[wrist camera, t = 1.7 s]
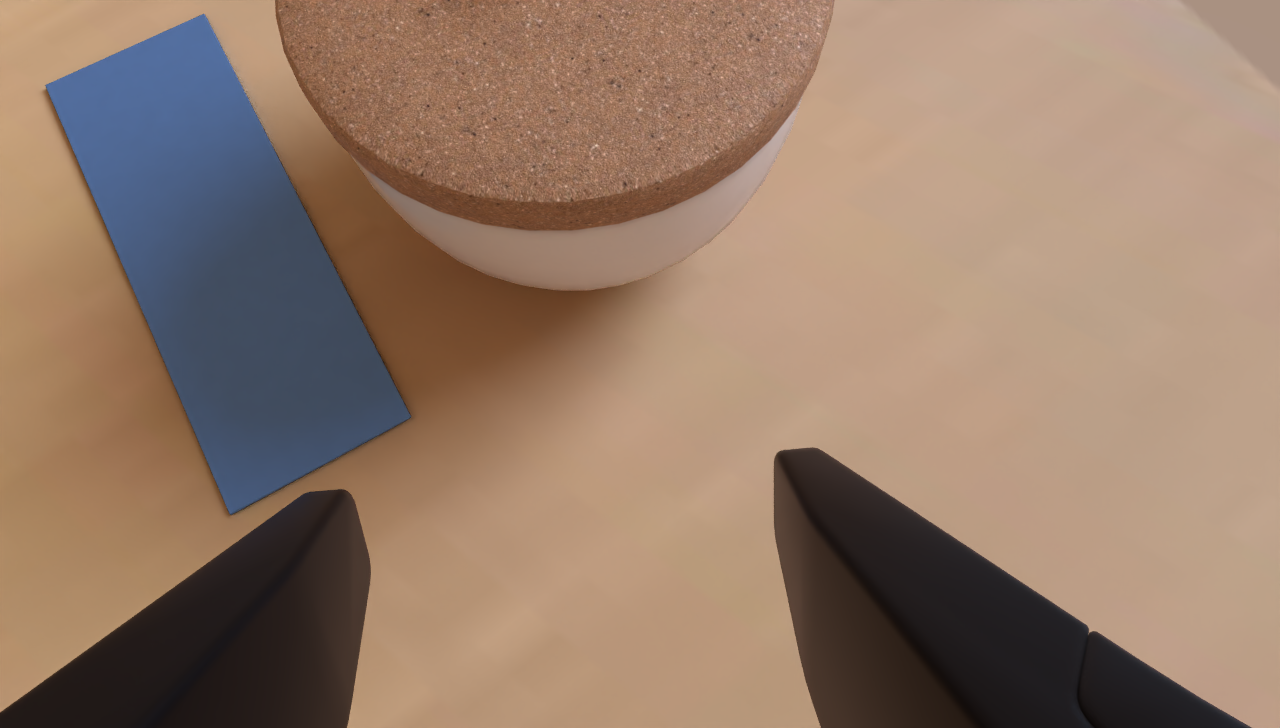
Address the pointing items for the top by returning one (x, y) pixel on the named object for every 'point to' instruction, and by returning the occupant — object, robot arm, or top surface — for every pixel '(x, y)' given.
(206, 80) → the tape strip
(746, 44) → the trinket box
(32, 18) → the top surface
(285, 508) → the robot arm
